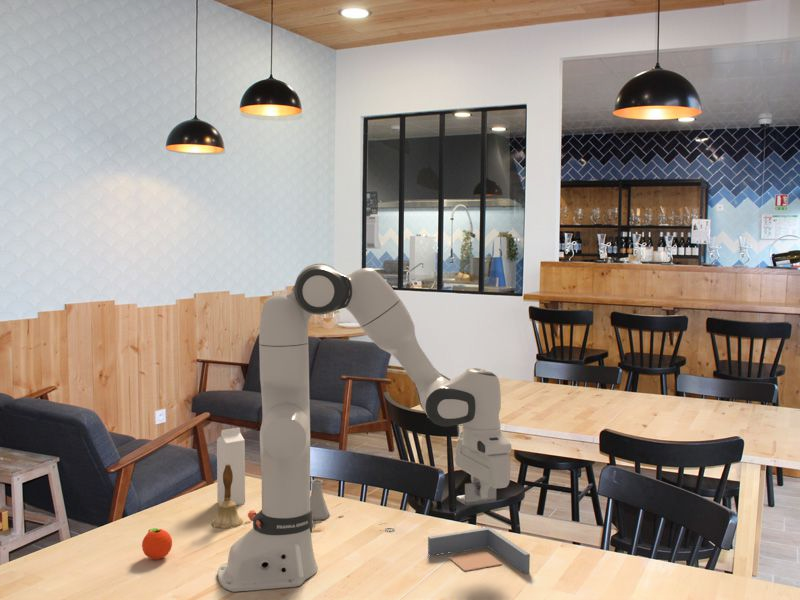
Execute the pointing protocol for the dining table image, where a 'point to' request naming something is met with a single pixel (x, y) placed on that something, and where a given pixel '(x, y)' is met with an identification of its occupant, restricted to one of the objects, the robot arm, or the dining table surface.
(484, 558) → the mat
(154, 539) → the clementine
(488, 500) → the angle bracket
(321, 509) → the flask
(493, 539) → the grey l-shaped piece
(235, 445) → the milk
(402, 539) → the dining table surface
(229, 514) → the wooden handled brush
